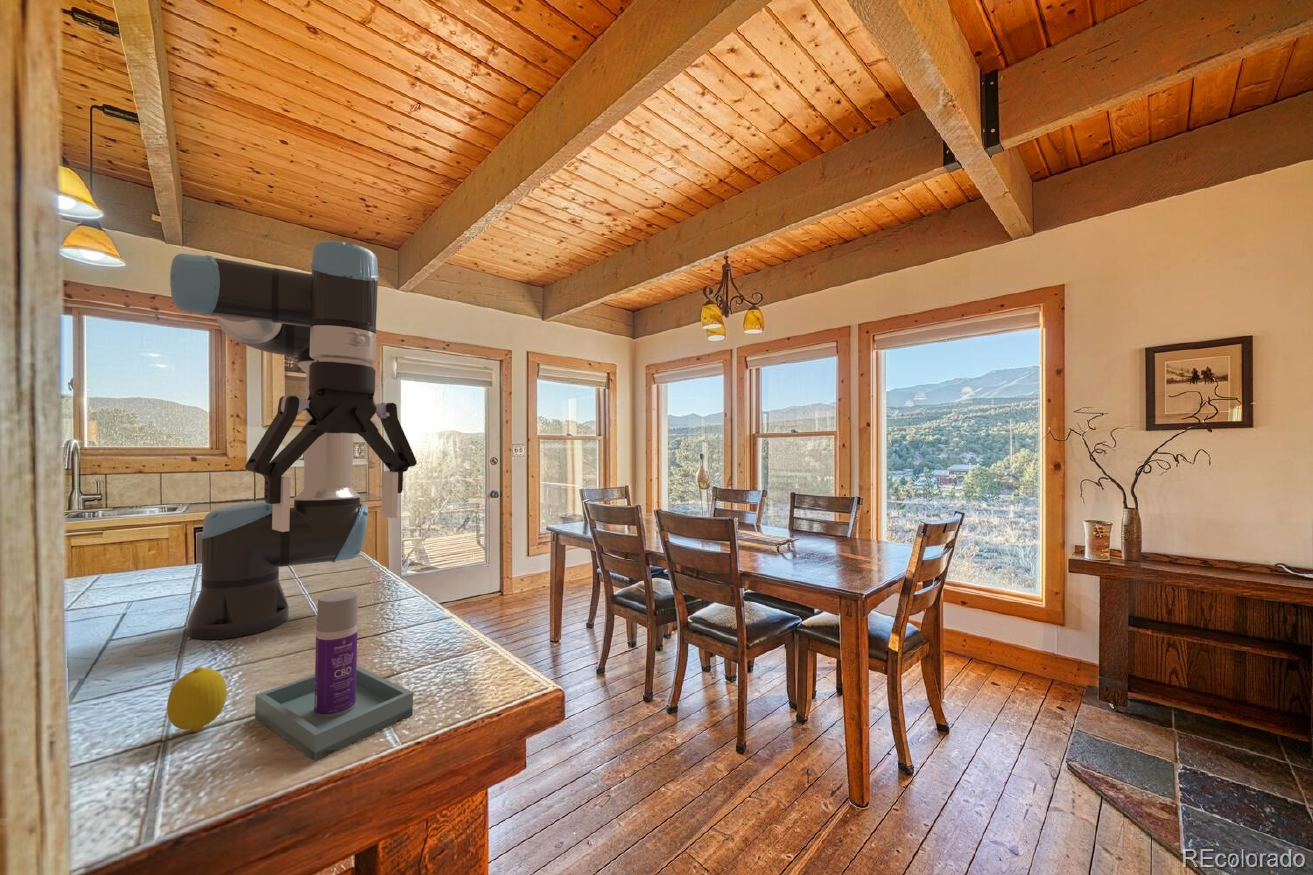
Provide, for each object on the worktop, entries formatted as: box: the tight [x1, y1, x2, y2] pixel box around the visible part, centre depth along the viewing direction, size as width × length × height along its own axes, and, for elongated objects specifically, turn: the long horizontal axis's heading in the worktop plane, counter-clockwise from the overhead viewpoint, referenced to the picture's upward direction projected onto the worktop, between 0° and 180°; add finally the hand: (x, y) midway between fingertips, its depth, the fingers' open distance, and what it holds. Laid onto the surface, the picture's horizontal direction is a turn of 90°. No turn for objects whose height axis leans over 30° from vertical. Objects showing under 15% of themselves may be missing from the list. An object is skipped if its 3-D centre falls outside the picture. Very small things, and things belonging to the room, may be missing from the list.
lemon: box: [166, 666, 228, 733], centre depth 64 cm, size 6×6×8 cm
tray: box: [254, 665, 414, 762], centre depth 68 cm, size 16×12×3 cm
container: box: [314, 590, 358, 718], centre depth 68 cm, size 5×5×15 cm
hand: (339, 523), depth 68 cm, fingers open, 13 cm apart
